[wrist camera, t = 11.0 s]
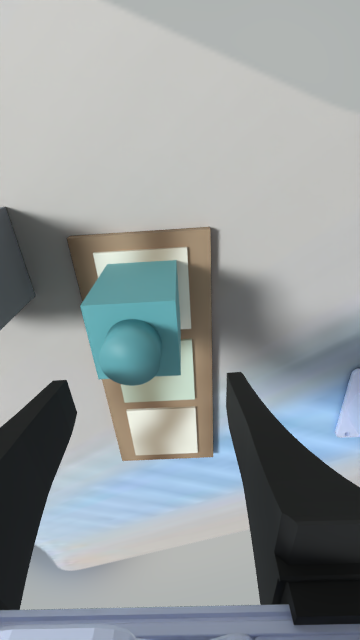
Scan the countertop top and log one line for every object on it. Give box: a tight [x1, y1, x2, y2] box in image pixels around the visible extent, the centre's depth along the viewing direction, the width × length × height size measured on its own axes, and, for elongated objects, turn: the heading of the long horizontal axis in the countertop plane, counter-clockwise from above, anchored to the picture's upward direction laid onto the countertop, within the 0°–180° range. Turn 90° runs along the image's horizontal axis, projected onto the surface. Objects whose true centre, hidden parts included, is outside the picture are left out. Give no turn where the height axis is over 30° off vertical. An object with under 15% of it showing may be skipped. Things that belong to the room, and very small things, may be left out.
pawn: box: [80, 260, 181, 386], centre depth 17 cm, size 4×4×8 cm
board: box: [67, 227, 213, 461], centre depth 24 cm, size 9×22×1 cm, turn 4°
